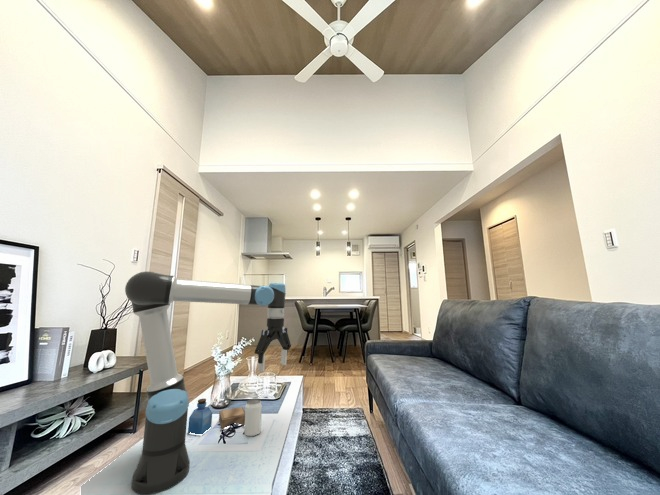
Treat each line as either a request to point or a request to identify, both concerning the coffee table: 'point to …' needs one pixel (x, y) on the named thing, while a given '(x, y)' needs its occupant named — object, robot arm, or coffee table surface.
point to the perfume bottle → (200, 418)
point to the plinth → (232, 417)
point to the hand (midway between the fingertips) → (272, 368)
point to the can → (253, 417)
